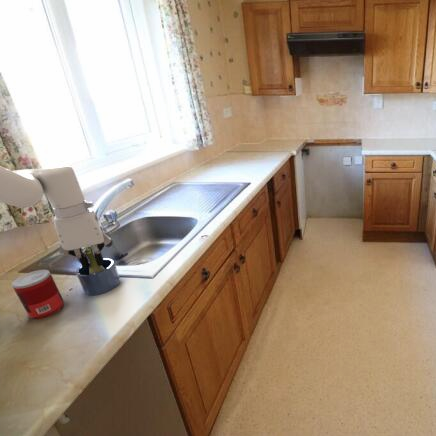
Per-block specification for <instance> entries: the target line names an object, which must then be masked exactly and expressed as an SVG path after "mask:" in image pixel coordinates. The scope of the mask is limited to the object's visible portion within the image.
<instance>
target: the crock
mask: <svg viewBox="0 0 436 436" xmlns="http://www.w3.org/2000/svg"><path fill="white" fill-rule="evenodd" d="M89 263H90V262H89ZM101 265H102V266H103V267H104V268H105V270H103V271H101V272H98V273H95V274H91V275H89V268H88V269H85V266H82V265H81V266H80V267H79V268H77V269H76V271H75V274H76V278H77V279H78V282H79V285H80V287H81V289H82V291H83V292H84V294H85V295H87V296H100V295H103V294H106V293H108V292H110V291H112V290H114V289H115V288H116V287H118V286H119V285H120V283H121V276H120V275H119V274H120V273H119V272H118V269H117V266H116V264H115V261H114V260H113V259H112V258H107V257H105V258H103V261H102V264H101Z"/></svg>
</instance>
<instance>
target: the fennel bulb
mask: <svg viewBox="0 0 436 436" xmlns="http://www.w3.org/2000/svg"><path fill="white" fill-rule="evenodd" d="M84 253H85V254H86V256H87V258H88V261H89V262H90V266H89V275H91V274H95V273H98V272H101V271H103V270H105V268H104V267H103V266H102V265H101V266H98V264H97V262H96V259H95V257H94V251H93V248H92V246H87V247H85V249H84Z"/></svg>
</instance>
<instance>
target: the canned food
mask: <svg viewBox="0 0 436 436" xmlns="http://www.w3.org/2000/svg"><path fill="white" fill-rule="evenodd" d="M11 286H12V288H13V290H14V292H15V294H16V295H17V297H18V299H19V301H20V303H21V305H22V306H23V308H24V310H25V311H26V314H27V315H28V316H29V317H30V318H31V319H35V320H36V319H38V320H39V319H42V318H47V317H49V316H51V315H54V314H55V313H57V312H59V310H61V309H62V308H63V307H64V304H65V301H64V299H63V296H62V294H61V292H60V290H59V287H58V285H57V284H56V281H55V279H54V277H53V276H52V274H51V272H50V270H49V269H37V270H33V271H30V272H26V273H25V274H22V275H21V276H18V277H17V278H16V279H14V280H13V281H12V283H11Z"/></svg>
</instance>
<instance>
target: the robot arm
mask: <svg viewBox="0 0 436 436" xmlns="http://www.w3.org/2000/svg"><path fill="white" fill-rule="evenodd" d="M44 195H46V198H47V200H48V202H49V204H50V206H51V209H52V211H53V214H54V215H55V216H53V223H54V228H55V231H56V235H57V238H58V241H59V243H60V246H59V251H58V253H59V254H62V255H63V254H64V255H70V256H73V257H75V258H76V259H78V260H79V262H80V264H81V266H85V269H88V268H89V266H90V263H89V259H88V257H87V255H86V253H85V252H83V249H82V248H86V247H88V246H90V247H91V248H92V250H93V255H94V257H95V259H96V262H97V264H98V266H101V264H102V261H103V259H104V256H103V254H102V251H103V249H104V247H106V246H107V245H109V244H110V243H111V242H112V238H111V237H110V236H109V235H107V234H106V233H105V230H104V228H103V225H102V224H101V221H100V220H99V217H98V215H97V214H96V212H95V211H94V210H93V208H92V207H94V202H93V201H87V200H86V199H85V196H84V193H83V191H82V188H81V185H80V183H79V181H78V178H77V176H76V173H75V170H74V168H73V167H72V166H71V165H69V164H52V165H50V166H44V167H41V168H40V167H39V168H28V169H15V170H11V169H9V168H6V167H4V166H2V165H0V203H3V204H5V205H9V206H12V207H18V208H28V207H33V206H34V205H37V204H38V203H39V202H41V200H42V198H43V197H44Z"/></svg>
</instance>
